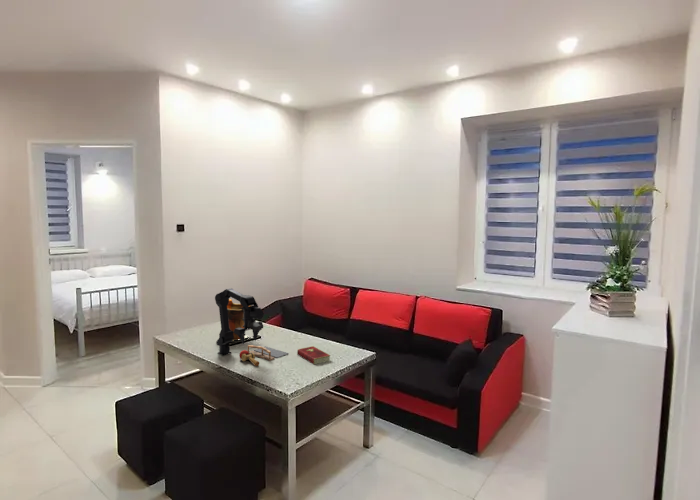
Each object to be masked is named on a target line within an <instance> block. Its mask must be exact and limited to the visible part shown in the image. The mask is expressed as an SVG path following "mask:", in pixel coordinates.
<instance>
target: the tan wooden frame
mask: <svg viewBox="0 0 700 500" xmlns="http://www.w3.org/2000/svg"><path fill="white" fill-rule="evenodd" d="M250 348H251V349H262V353H259V352H256V351H254V350H250ZM263 350H264V351H265V352H267V353H269V356H268V355H265V354H263ZM247 351H248V352H249V354H250V353H254V355H255V358H256V357H257V358H260V359H263V360H267V361H273V360H275V357H272V356H271V351H269V350H268V349H266V348H264V346H259V345H252V344H248V345H247Z"/></svg>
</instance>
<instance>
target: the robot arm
mask: <svg viewBox="0 0 700 500" xmlns="http://www.w3.org/2000/svg"><path fill="white" fill-rule="evenodd" d="M231 298H232V299H234V300H236V301H238V302H239V304H241V305H242V306H243V307H242V308H241V309H243V310H244V319H243V321H244V325H243V327H244V328H240V327H239V328H236V329H234V333H235V334H237V335H238V336H239V338H240V340H241V341H240V342H241V344H242V345H245V340H244V336H245V335H246V331H251V330H252V334H253V335H252V336H253V340H254V341H257V338H258V335H259V333H260V332H261V330H262V329H264V324H263V321H256V320H261V319H263V317H264V314H265V313H264V311H263V310H262V308H261V307H259V305H258V302H257V301H256V299H255V297H254V296H252V295H249V294H248V295H247V294H243V293H242V292H239V291H238V290H235V289H234V288H232V287H230V288H225V289H224V290H223V291H221V292H219V293H216V295H214V301H215V304H216V305H217V307H218V311H219V321H220V328H221V329H220V332H219V335H218V336H219V337H218V339H217V340H216V342H215V343H216V346H219V349H218V350H219V351H218V352H217V353H216V354H218V355H220V356H227V355H230V354H232V352H231V350H230V348H231V347H230V344H233V342H234V341H233V337H234V336H233V331H231V330H230V329H229V320H228V311H227V305H228V303H229V300H230V299H231ZM248 306H249V307H248Z"/></svg>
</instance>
